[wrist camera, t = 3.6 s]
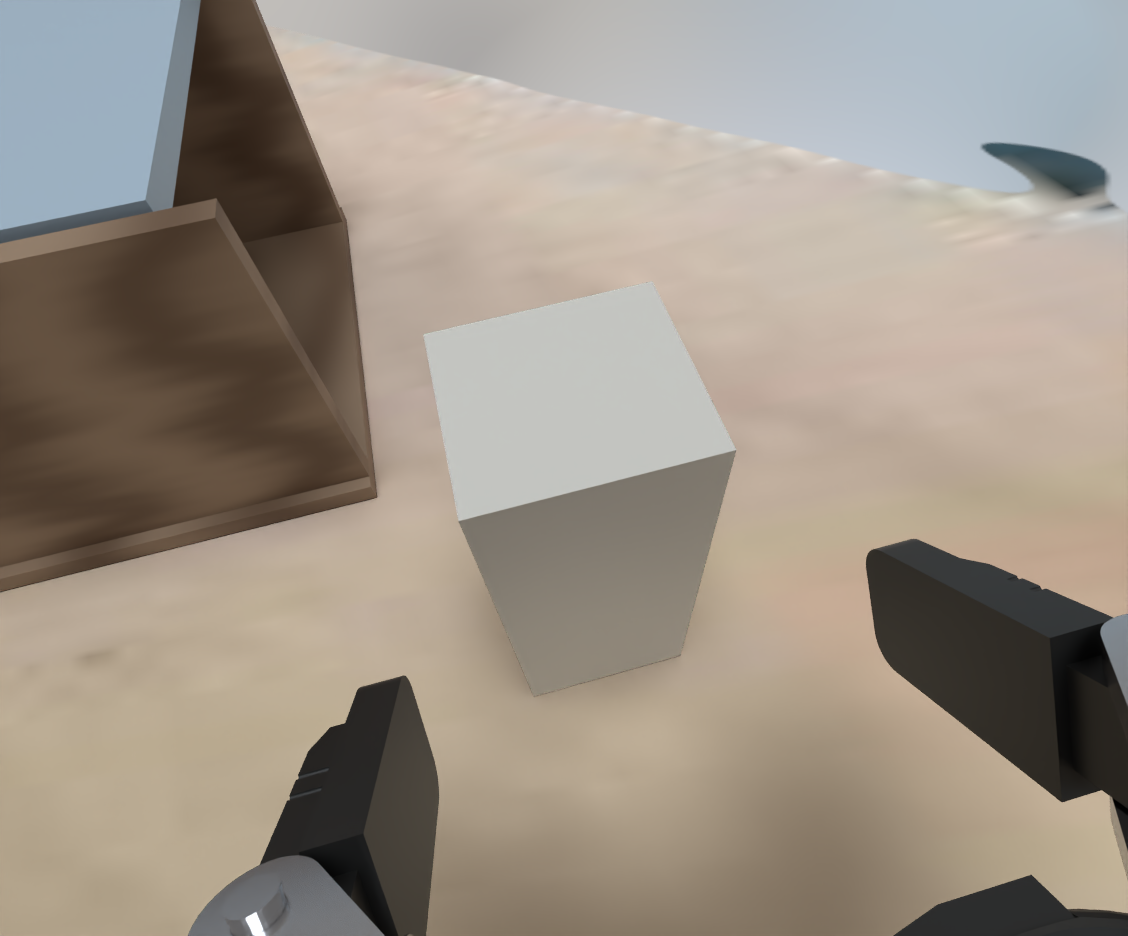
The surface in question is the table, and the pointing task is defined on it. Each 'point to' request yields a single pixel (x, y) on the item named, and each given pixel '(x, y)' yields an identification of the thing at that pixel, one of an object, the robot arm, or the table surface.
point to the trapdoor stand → (186, 341)
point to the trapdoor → (90, 109)
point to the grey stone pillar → (583, 478)
